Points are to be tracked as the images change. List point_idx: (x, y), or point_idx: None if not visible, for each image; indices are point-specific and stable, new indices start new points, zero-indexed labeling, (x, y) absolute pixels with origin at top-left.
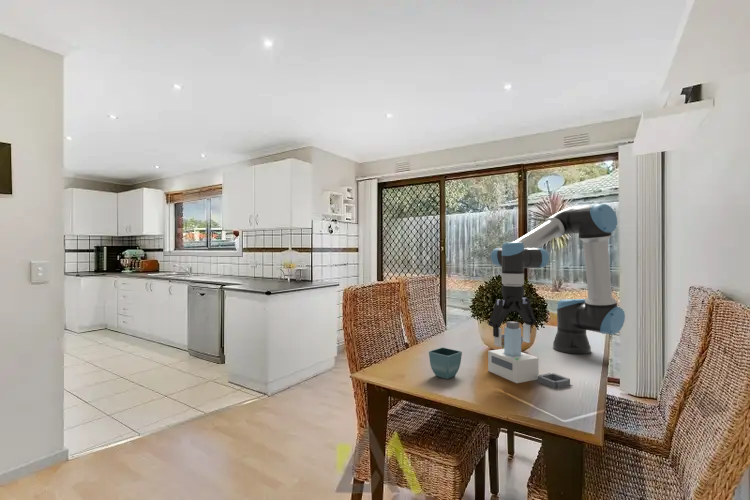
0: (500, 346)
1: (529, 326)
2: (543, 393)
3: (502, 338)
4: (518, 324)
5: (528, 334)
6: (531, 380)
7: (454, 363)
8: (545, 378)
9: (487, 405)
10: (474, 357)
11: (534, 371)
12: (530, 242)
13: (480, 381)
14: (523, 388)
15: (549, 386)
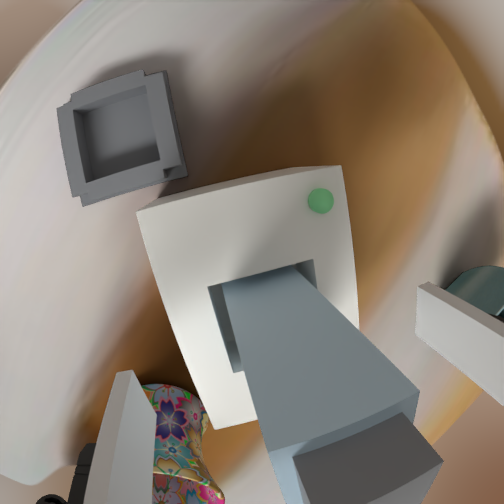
0: (426, 284)
1: (98, 492)
2: (236, 61)
3: (221, 493)
4: (320, 497)
5: (122, 425)
6: (201, 187)
7: (484, 289)
8: (165, 124)
9: (448, 65)
10: (268, 462)
11: (180, 194)
12: None
13: (398, 238)
14: (286, 125)
15: (169, 100)
